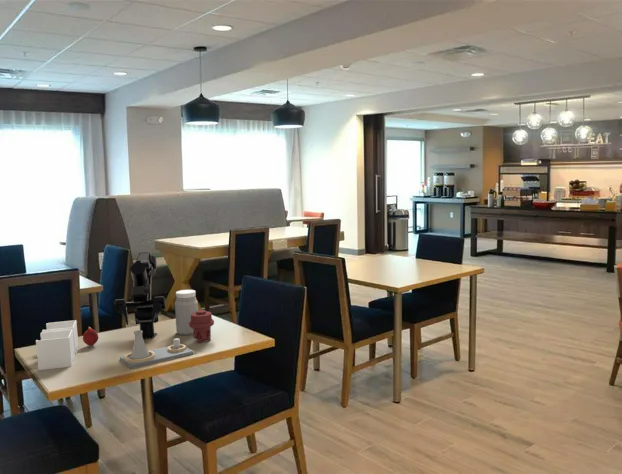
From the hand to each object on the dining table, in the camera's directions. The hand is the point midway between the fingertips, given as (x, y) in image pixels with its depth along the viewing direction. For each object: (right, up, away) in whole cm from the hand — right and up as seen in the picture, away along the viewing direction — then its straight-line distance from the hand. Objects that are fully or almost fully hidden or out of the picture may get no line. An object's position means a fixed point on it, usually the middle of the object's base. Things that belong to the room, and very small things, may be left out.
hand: (139, 323), depth 214 cm
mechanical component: (+20, -10, +17) cm, 28 cm away
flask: (+2, -12, -6) cm, 13 cm away
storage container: (-31, -14, +1) cm, 34 cm away
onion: (-24, -12, +14) cm, 30 cm away
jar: (+12, -9, +30) cm, 33 cm away
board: (+7, -12, -2) cm, 14 cm away
